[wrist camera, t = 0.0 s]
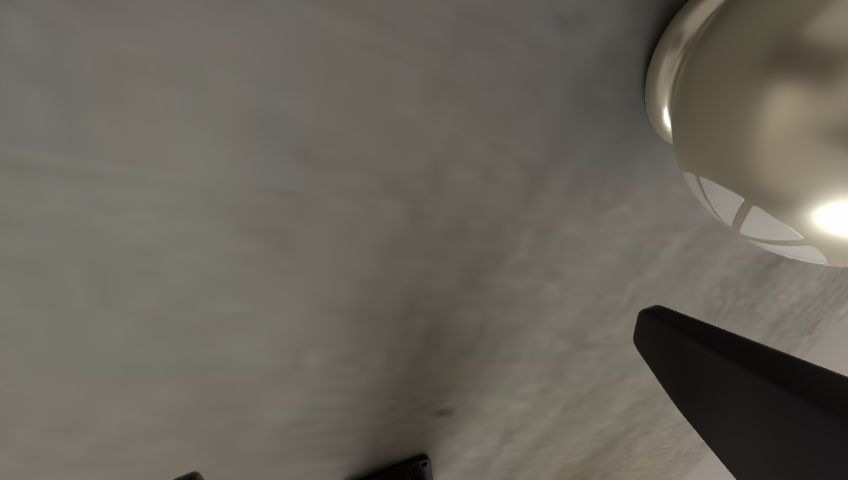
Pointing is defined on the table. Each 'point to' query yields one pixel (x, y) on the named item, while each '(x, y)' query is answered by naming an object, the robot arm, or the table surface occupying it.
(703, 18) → the teapot
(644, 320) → the robot arm
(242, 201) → the table surface
